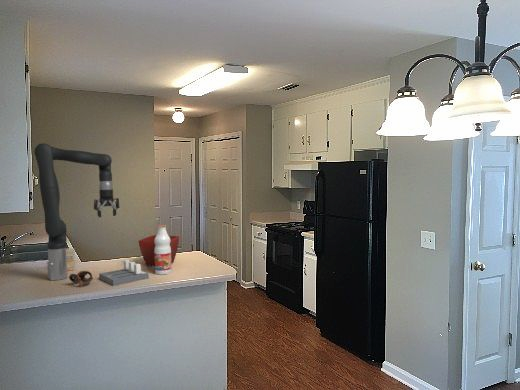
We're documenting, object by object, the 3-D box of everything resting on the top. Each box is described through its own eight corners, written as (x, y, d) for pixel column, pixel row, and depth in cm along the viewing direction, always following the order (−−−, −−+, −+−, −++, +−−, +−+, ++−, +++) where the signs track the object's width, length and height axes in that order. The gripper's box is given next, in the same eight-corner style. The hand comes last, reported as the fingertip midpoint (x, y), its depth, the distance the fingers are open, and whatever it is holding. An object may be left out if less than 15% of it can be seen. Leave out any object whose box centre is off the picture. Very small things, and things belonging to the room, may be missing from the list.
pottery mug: (93, 282, 231) (95, 270, 227) (89, 294, 222) (91, 282, 219) (70, 278, 228) (71, 266, 224) (65, 290, 220) (66, 278, 216)
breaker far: (126, 270, 240) (125, 261, 240) (123, 269, 242) (123, 260, 242) (130, 269, 242) (130, 260, 241) (128, 268, 244) (127, 259, 244)
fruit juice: (174, 271, 248) (173, 224, 246) (165, 275, 239) (163, 226, 237) (161, 270, 252) (160, 223, 250) (151, 274, 243) (150, 225, 241)
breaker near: (136, 274, 231) (136, 265, 230) (134, 273, 233) (133, 264, 232) (140, 273, 232) (140, 264, 232) (138, 272, 234) (138, 263, 234)
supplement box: (59, 271, 252) (58, 250, 251) (60, 269, 257) (59, 248, 256) (74, 270, 254) (73, 249, 253) (75, 268, 259) (74, 247, 258)
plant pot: (166, 269, 255) (165, 241, 254) (138, 267, 260) (137, 240, 258) (180, 261, 273) (179, 236, 272) (154, 260, 278) (153, 235, 277)
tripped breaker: (131, 272, 235) (131, 263, 235) (128, 271, 238) (128, 262, 237) (135, 271, 237) (135, 262, 237) (133, 270, 239) (132, 261, 239)
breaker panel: (113, 285, 220) (113, 280, 220) (99, 278, 235) (99, 273, 234) (148, 278, 234) (148, 273, 234) (133, 272, 248) (133, 267, 248)
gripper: (96, 189, 237) (97, 218, 239) (120, 188, 247) (121, 215, 248) (91, 189, 243) (92, 217, 244) (115, 188, 252) (116, 214, 254)
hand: (107, 216), depth 246 cm, fingers open, 8 cm apart
